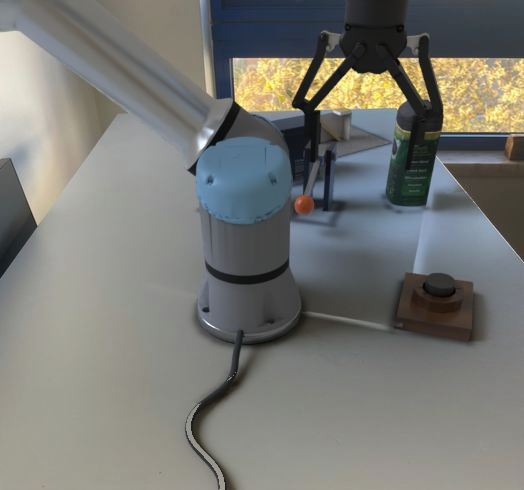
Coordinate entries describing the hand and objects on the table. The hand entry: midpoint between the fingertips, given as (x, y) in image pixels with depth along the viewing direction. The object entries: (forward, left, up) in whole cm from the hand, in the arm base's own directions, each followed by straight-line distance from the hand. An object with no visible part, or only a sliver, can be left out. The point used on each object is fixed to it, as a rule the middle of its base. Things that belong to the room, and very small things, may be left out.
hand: (360, 163), depth 75 cm
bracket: (+17, +10, -17) cm, 26 cm away
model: (+55, +16, -17) cm, 60 cm away
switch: (+13, +10, -10) cm, 19 cm away
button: (-9, -14, -13) cm, 22 cm away
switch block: (-10, -14, -17) cm, 24 cm away
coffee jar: (+26, -6, -17) cm, 32 cm away
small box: (+30, +20, -17) cm, 40 cm away
